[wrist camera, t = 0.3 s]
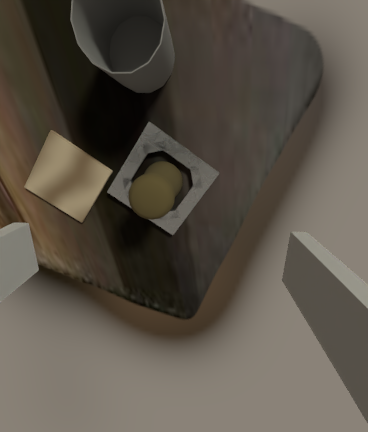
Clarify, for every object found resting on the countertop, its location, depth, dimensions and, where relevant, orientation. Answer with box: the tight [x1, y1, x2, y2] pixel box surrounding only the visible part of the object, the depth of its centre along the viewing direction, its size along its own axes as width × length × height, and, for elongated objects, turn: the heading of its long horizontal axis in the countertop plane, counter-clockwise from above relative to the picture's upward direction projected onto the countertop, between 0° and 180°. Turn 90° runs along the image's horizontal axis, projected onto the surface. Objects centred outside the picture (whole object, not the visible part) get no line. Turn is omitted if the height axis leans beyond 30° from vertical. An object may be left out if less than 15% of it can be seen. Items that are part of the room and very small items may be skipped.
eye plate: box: [107, 122, 219, 235], centre depth 34 cm, size 12×12×1 cm
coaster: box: [25, 130, 113, 223], centre depth 35 cm, size 10×10×1 cm
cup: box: [71, 0, 175, 93], centre depth 25 cm, size 8×8×10 cm
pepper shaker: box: [128, 161, 183, 220], centre depth 30 cm, size 6×6×11 cm
